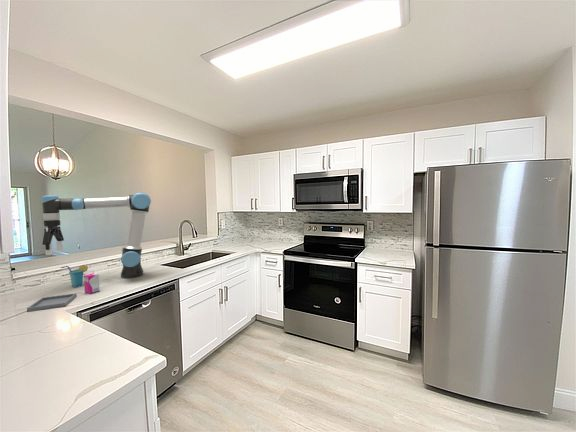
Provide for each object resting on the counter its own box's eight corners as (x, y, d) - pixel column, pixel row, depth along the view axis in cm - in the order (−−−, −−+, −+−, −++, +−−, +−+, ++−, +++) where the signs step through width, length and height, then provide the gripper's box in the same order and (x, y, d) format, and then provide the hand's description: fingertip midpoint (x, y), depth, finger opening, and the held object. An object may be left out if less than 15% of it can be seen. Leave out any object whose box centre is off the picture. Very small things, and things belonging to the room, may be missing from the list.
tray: (76, 296, 147) (76, 293, 147) (65, 306, 133) (65, 302, 133) (42, 300, 141) (42, 297, 141) (27, 311, 126) (26, 308, 126)
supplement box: (94, 289, 158) (94, 272, 157) (100, 291, 156) (99, 273, 155) (84, 292, 153) (83, 275, 152) (89, 294, 150) (88, 276, 150)
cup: (61, 290, 158) (59, 267, 157) (62, 287, 164) (60, 265, 163) (88, 285, 166) (87, 264, 166) (88, 282, 172) (87, 262, 172)
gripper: (54, 218, 164) (56, 249, 165) (32, 221, 141) (35, 257, 142) (68, 218, 167) (70, 248, 168) (49, 220, 144) (52, 256, 145)
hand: (54, 252), depth 155 cm, fingers open, 13 cm apart
